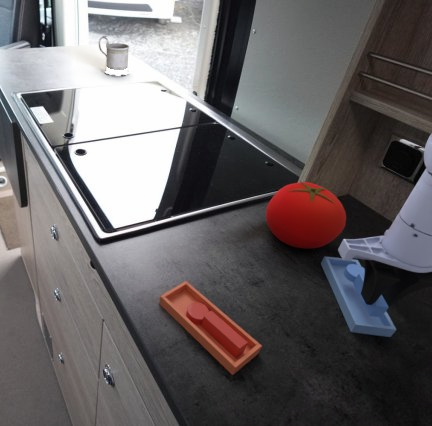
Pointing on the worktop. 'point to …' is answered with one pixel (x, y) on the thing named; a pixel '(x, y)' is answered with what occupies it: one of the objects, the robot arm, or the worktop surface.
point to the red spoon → (216, 328)
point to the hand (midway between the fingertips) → (374, 300)
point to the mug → (116, 55)
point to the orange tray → (177, 307)
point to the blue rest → (354, 301)
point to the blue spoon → (357, 277)
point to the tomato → (305, 215)
